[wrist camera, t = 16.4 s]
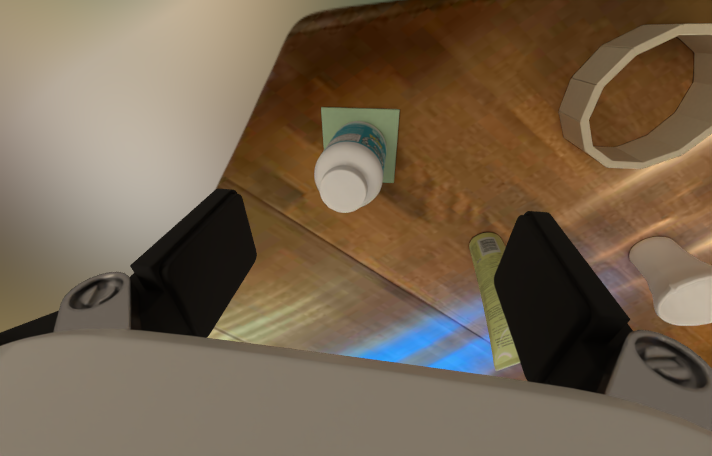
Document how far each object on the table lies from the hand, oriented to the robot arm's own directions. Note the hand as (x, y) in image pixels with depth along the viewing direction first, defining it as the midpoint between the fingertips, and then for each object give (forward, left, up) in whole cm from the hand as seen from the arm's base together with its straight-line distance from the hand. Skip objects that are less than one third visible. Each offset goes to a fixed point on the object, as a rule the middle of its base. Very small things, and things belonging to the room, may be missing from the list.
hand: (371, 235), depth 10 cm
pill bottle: (+7, -4, -30) cm, 31 cm away
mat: (+7, -4, -30) cm, 31 cm away
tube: (+22, +16, -30) cm, 41 cm away
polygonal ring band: (0, +26, -30) cm, 40 cm away
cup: (+21, +39, -30) cm, 54 cm away
